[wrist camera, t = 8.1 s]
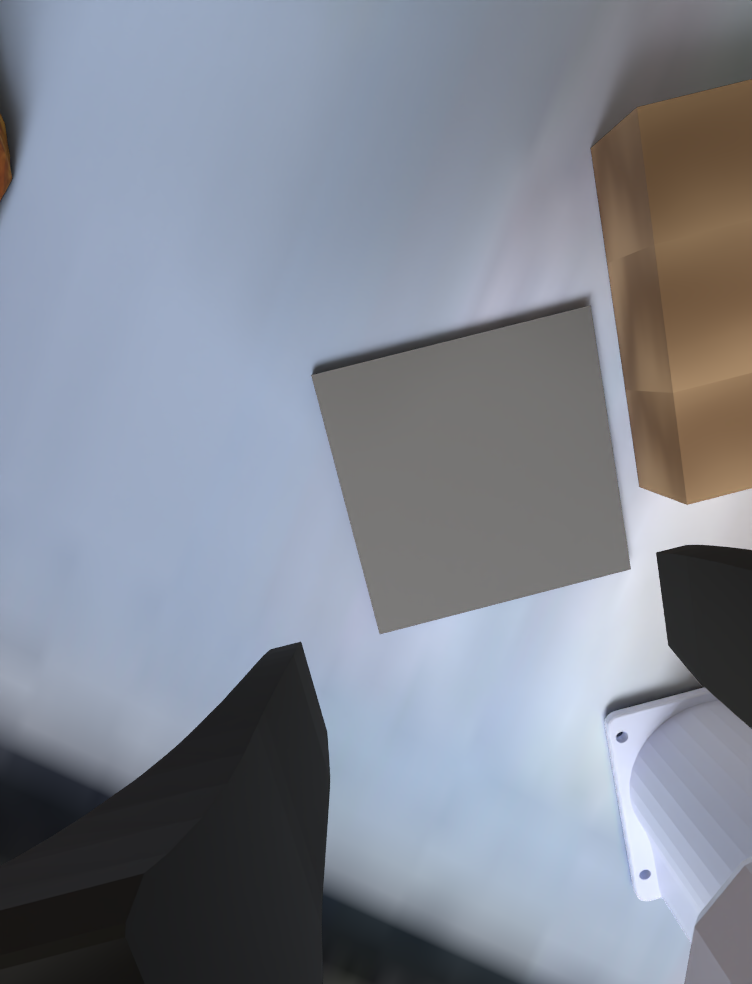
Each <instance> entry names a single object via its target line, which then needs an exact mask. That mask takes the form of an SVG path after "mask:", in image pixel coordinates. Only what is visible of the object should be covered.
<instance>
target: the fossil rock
mask: <svg viewBox="0 0 752 984" xmlns="http://www.w3.org/2000/svg"><path fill="white" fill-rule="evenodd" d="M11 180H12V174H11V168H10V153H9V148H8V143H7V135H6V127H5V123H4V120H3V118H2V116H1V114H0V201H1V199H2V197H3V195H4V194H5V192H6V190H7V188H8V186H9V184H10V182H11Z"/></svg>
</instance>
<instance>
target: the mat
mask: <svg viewBox="0 0 752 984" xmlns="http://www.w3.org/2000/svg"><path fill="white" fill-rule="evenodd" d="M311 376H312V379H313V383H314V387H315V391H316V395H317V398H318V402H319V406H320V410H321V414H322V417H323V421H324V425H325V429H326V433H327V436H328V440H329V444H330V448H331V451H332V455H333V459H334V463H335V467H336V470H337V474H338V478H339V482H340V486H341V489H342V493H343V497H344V501H345V504H346V508H347V512H348V516H349V520H350V523H351V527H352V531H353V535H354V539H355V542H356V546H357V550H358V554H359V558H360V561H361V565H362V569H363V573H364V576H365V580H366V584H367V588H368V592H369V595H370V599H371V603H372V607H373V611H374V614H375V618H376V622H377V626H378V629H379V633H380V634H383V633H387V632H390V631H394V630H398V629H402V628H406V627H410V626H414V625H417V624H421V623H425V622H429V621H433V620H437V619H441V618H444V617H448V616H452V615H456V614H460V613H464V612H468V611H471V610H475V609H479V608H483V607H487V606H491V605H495V604H498V603H502V602H506V601H510V600H514V599H518V598H522V597H525V596H529V595H533V594H537V593H541V592H545V591H549V590H552V589H556V588H560V587H564V586H568V585H572V584H576V583H579V582H583V581H587V580H591V579H595V578H599V577H602V576H606V575H610V574H614V573H618V572H622V571H626V570H629V569H631V567H630V561H629V554H628V548H627V541H626V535H625V528H624V522H623V515H622V509H621V502H620V496H619V489H618V483H617V476H616V469H615V463H614V456H613V450H612V443H611V437H610V430H609V424H608V417H607V411H606V404H605V398H604V391H603V385H602V378H601V371H600V365H599V358H598V352H597V345H596V339H595V332H594V326H593V319H592V313H591V306H586V307H582V308H578V309H574V310H570V311H566V312H562V313H558V314H554V315H550V316H546V317H542V318H538V319H534V320H530V321H526V322H522V323H518V324H514V325H510V326H506V327H502V328H498V329H494V330H490V331H486V332H482V333H478V334H474V335H470V336H466V337H462V338H458V339H454V340H450V341H446V342H442V343H438V344H434V345H430V346H426V347H422V348H418V349H414V350H410V351H406V352H402V353H398V354H394V355H390V356H386V357H382V358H378V359H374V360H370V361H366V362H362V363H358V364H354V365H350V366H346V367H342V368H338V369H334V370H330V371H326V372H322V373H318V374H314V375H311Z"/></svg>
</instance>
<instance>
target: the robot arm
mask: <svg viewBox="0 0 752 984" xmlns="http://www.w3.org/2000/svg"><path fill="white" fill-rule="evenodd" d="M656 555H657V563H658V570H659V578H660V585H661V593H662V601H663V608H664V616H665V623H666V631H667V639H668V646H669V647H670V648H671V649H672V650H673V652H674V653H675V654H676V655H677V657H678V658H679V659H680V660H681V661H682V663H683V664H684V665H685V666H686V667H687V669H688V670H689V671H690V672H691V673H692V674H693V675H694V676H695V677H696V679H697V680H698V681H699V682H700V683H701V684H702V685H703V686H704V688H700V689H696V690H692V691H689V692H685V693H681V694H677V695H673V696H670V697H666V698H662V699H658V700H654V701H651V702H647V703H643V704H639V705H636V706H632V707H628V708H624V709H620V710H617V711H613V712H611V713H610V714H609V715H607V717H606V719H605V724H604V725H605V730H606V736H607V742H608V748H609V753H610V759H611V765H612V770H613V776H614V782H615V788H616V793H617V799H618V805H619V810H620V816H621V822H622V828H623V833H624V839H625V845H626V850H627V856H628V862H629V867H630V873H631V879H632V885H633V889H634V892H635V893H636V895H637V897H638V898H639V899H640V900H642V901H652V900H655V899H659V898H663V900H664V901H665V903H666V904H667V906H668V908H669V909H670V911H671V912H672V914H673V916H674V917H675V919H676V920H677V922H678V924H679V925H680V927H681V928H682V930H683V932H684V933H685V935H686V936H687V938H688V940H689V941H690V943H691V949H690V955H689V960H688V966H687V972H686V977H685V983H684V984H752V550H747V549H739V548H730V547H720V546H709V545H685V546H681V547H677V548H673V549H669V550H665V551H661V552H657V553H656ZM619 732H623V733H622V735H621V736H619V737H616V735H617V734H618V733H619ZM329 792H330V767H329V751H328V737H327V730H326V727H325V723H324V720H323V716H322V713H321V709H320V706H319V702H318V699H317V695H316V692H315V688H314V685H313V681H312V678H311V675H310V671H309V668H308V664H307V661H306V657H305V654H304V650H303V647H302V643H301V642H298V643H294V644H290V645H286V646H282V647H278V648H274V649H271V650H269V651H268V652H267V653H266V654H265V655H264V656H263V657H262V658H261V659H260V660H259V661H258V662H257V663H256V664H255V666H254V667H253V668H252V669H251V670H250V671H249V672H248V673H247V675H246V676H245V677H244V678H243V679H242V680H241V681H240V682H239V683H238V685H237V686H236V687H235V688H234V689H233V690H232V691H231V692H230V693H229V694H228V696H227V697H226V698H225V699H224V700H223V701H222V702H221V703H220V704H219V705H218V706H217V707H216V708H215V709H214V710H213V711H212V712H211V713H210V714H209V715H208V716H207V717H206V718H205V719H204V720H203V721H202V722H201V723H200V724H199V725H198V726H197V727H196V728H195V729H194V730H193V731H192V732H191V733H190V734H189V735H188V736H187V737H186V738H185V739H184V740H183V741H182V742H180V743H179V744H178V745H177V746H176V747H175V748H174V749H173V750H171V751H170V752H169V753H168V754H167V755H166V756H164V757H163V758H162V759H161V760H159V761H158V762H157V763H156V764H155V765H153V766H152V767H151V768H150V769H149V770H147V771H146V772H145V773H144V774H142V775H141V776H140V777H138V778H137V779H136V780H135V781H133V782H132V783H130V784H129V785H127V786H126V787H125V788H123V789H122V790H120V791H119V792H118V793H116V794H115V795H113V796H112V797H110V798H109V799H108V800H106V801H105V802H103V803H102V804H101V805H99V806H98V807H96V808H95V809H94V810H92V811H91V812H89V813H88V814H86V815H85V816H83V817H82V818H80V819H79V820H77V821H76V822H74V823H73V824H71V825H69V826H68V827H66V828H65V829H63V830H61V831H60V832H58V833H57V834H55V835H53V836H52V837H50V838H48V839H47V840H45V841H43V842H42V843H40V844H38V845H37V846H35V847H33V848H31V849H30V850H28V851H26V852H25V853H23V854H21V855H19V856H18V857H16V858H14V859H12V860H11V861H9V862H7V863H5V864H3V865H2V866H0V984H323V961H322V896H323V881H324V867H325V852H326V838H327V824H328V808H329ZM643 870H644V871H643ZM641 871H642V872H641Z"/></svg>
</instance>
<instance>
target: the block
mask: <svg viewBox="0 0 752 984" xmlns="http://www.w3.org/2000/svg"><path fill="white" fill-rule="evenodd" d="M591 154H592V161H593V168H594V175H595V182H596V189H597V196H598V203H599V210H600V217H601V224H602V231H603V238H604V244H605V251H606V258H607V265H608V272H609V279H610V286H611V293H612V300H613V307H614V314H615V321H616V327H617V334H618V341H619V348H620V355H621V362H622V369H623V376H624V383H625V390H626V397H627V404H628V411H629V417H630V424H631V431H632V438H633V445H634V452H635V459H636V466H637V473H638V480H639V487H641V488H644V489H646V490H649V491H652V492H654V493H657V494H660V495H662V496H665V497H668V498H671V499H673V500H676V501H679V502H681V503H684V504H687V505H688V504H692V503H696V502H700V501H704V500H707V499H711V498H715V497H719V496H723V495H727V494H731V493H735V492H739V491H742V490H746V489H750V488H752V79H750V80H746V81H742V82H738V83H734V84H730V85H726V86H721V87H717V88H713V89H709V90H705V91H701V92H697V93H693V94H689V95H685V96H681V97H676V98H672V99H668V100H664V101H660V102H656V103H652V104H648V105H644V106H640V107H637V108H635V109H634V110H633V111H632V112H631V113H630V114H629V115H628V116H626V117H625V118H624V119H623V120H622V121H621V122H620V123H618V124H617V125H616V126H615V127H614V128H613V129H612V130H611V131H609V132H608V133H607V134H606V135H605V136H604V137H603V138H602V139H600V140H599V141H598V142H597V143H596V144H595V145H594V146H592V147H591Z"/></svg>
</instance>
